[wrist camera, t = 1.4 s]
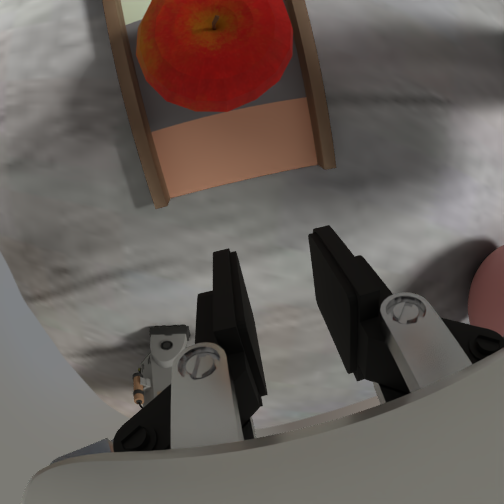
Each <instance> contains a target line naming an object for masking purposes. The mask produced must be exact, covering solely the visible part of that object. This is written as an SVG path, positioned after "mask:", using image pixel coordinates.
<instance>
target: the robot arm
mask: <svg viewBox="0 0 504 504" xmlns="http://www.w3.org/2000/svg"><path fill="white" fill-rule="evenodd" d="M308 237H309V245H310V253H311V261H312V269H313V278H314V286H315V295H316V301H317V304H318V307H319V309H320V311H321V314H322V316H323V318H324V320H325V323H326V325H327V327H328V329H329V332H330V334H331V336H332V338H333V341H334V343H335V345H336V348H337V350H338V352H339V354H340V357H341V359H342V361H343V364H344V366H345V368H346V371H347V373H348V374H350V373H354V375H355V378H356V380H357V381H360V380H363V379H366V380H369V381H372V382H373V384H374V388H375V391H376V394H377V396H378V399H379V401H380V404H381V405H379V406H376V407H373V408H370V409H367V410H364V411H361V412H358V413H355V414H352V415H349V416H345V417H342V418H339V419H336V420H332V421H328V422H325V423H321V424H317V425H314V426H310V427H306V428H302V429H298V430H293V431H290V432H285V433H280V434H275V435H271V436H266V437H260V438H256V434H255V429H254V424H253V419H252V417H251V416H252V415H253V414H254V413H255V412H256V411H257V410H258V408H259V407H260V406H263V405H262V399H261V396H265V395H267V389H266V383H265V378H264V372H263V367H262V361H261V356H260V350H259V344H258V339H257V333H256V327H255V322H254V317H253V313H252V309H251V305H250V302H249V298H248V294H247V290H246V287H245V283H244V279H243V275H242V271H241V268H240V264H239V260H238V256H237V253H236V251H235V252H230V250H229V249H225V250H220V251H216V252H213V291H209V292H204V293H200V294H198V298H197V314H196V333H195V344H194V345H191V346H189V347H187V348H185V349H184V350H182V351H181V352H180V353H179V354H178V355H177V356H176V358H175V360H174V361H173V365H172V378H171V384H170V385H169V386H168V387H166V388H165V389H164V390H163V391H162V392H161V393H160V394H158V395H157V396H156V397H155V398H154V399H153V400H152V401H150V402H149V403H148V404H147V405H146V406H145V407H144V408H142V409H141V410H140V411H139V412H138V413H137V414H135V415H134V416H133V417H132V418H131V419H130V420H128V421H127V422H126V423H125V424H124V425H122V427H121V428H120V429H119V430H118V431H117V433H116V435H115V437H114V439H113V440H111V441H110V440H109V439H108V438H105V439H103V440H101V441H98V442H96V443H93V444H91V445H89V446H86V447H84V448H81V449H79V450H76V451H73V452H71V453H68V454H66V455H63V456H61V457H58V458H56V459H55V460H53V461H52V463H51V464H50V465H49V466H47V467H45V468H43V469H41V470H39V471H38V472H37V473H36V474H35V475H33V476H32V478H31V479H30V481H29V482H28V485H27V486H26V488H25V491H24V493H23V496H22V499H21V503H20V504H504V336H503V337H502V336H501V335H500V334H499V333H497V332H496V331H493V330H490V329H487V328H482V327H478V326H473V325H469V324H465V323H460V322H456V321H451V320H447V319H443V318H440V317H439V315H438V314H437V313H436V311H435V310H434V309H433V307H432V306H431V305H430V303H429V302H428V301H427V300H426V299H425V298H423V297H421V296H420V295H418V294H414V293H406V292H402V293H396V294H392V293H391V291H390V290H389V289H388V288H387V286H386V285H385V284H384V282H383V281H382V280H381V279H380V277H379V276H378V275H377V274H376V272H375V271H374V270H373V269H372V267H371V266H370V265H369V264H368V262H367V261H366V260H365V259H364V258H363V257H362V256H360V255H359V256H355V257H354V255H353V254H352V253H351V251H350V250H349V249H348V248H347V246H346V245H345V244H344V243H343V241H342V240H341V239H340V238H339V236H338V235H337V234H336V233H335V231H334V230H333V229H332V228H331V227H330V226H329V225H328V226H324V227H319V228H315V229H313V233H312V234H309V235H308Z"/></svg>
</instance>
